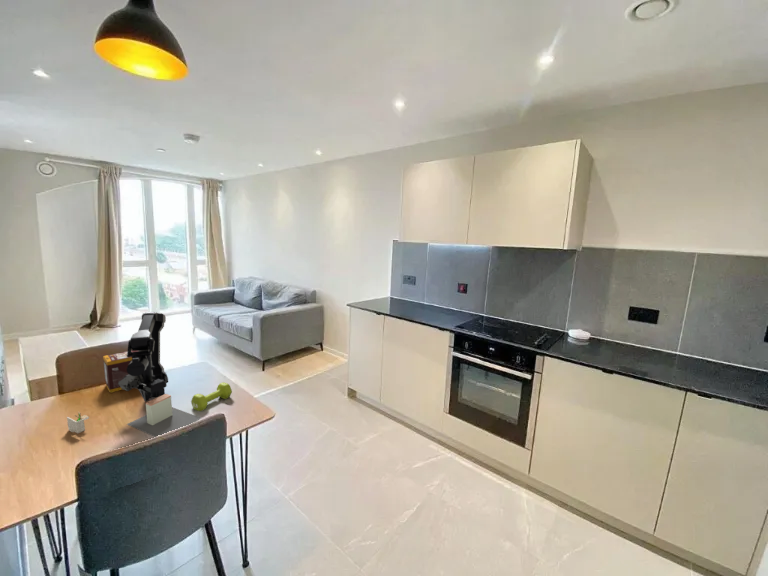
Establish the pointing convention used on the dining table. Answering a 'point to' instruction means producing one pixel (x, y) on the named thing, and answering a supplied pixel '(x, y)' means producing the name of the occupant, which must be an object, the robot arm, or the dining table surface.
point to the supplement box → (115, 369)
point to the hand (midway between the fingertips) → (146, 400)
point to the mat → (165, 423)
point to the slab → (158, 409)
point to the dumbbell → (211, 396)
